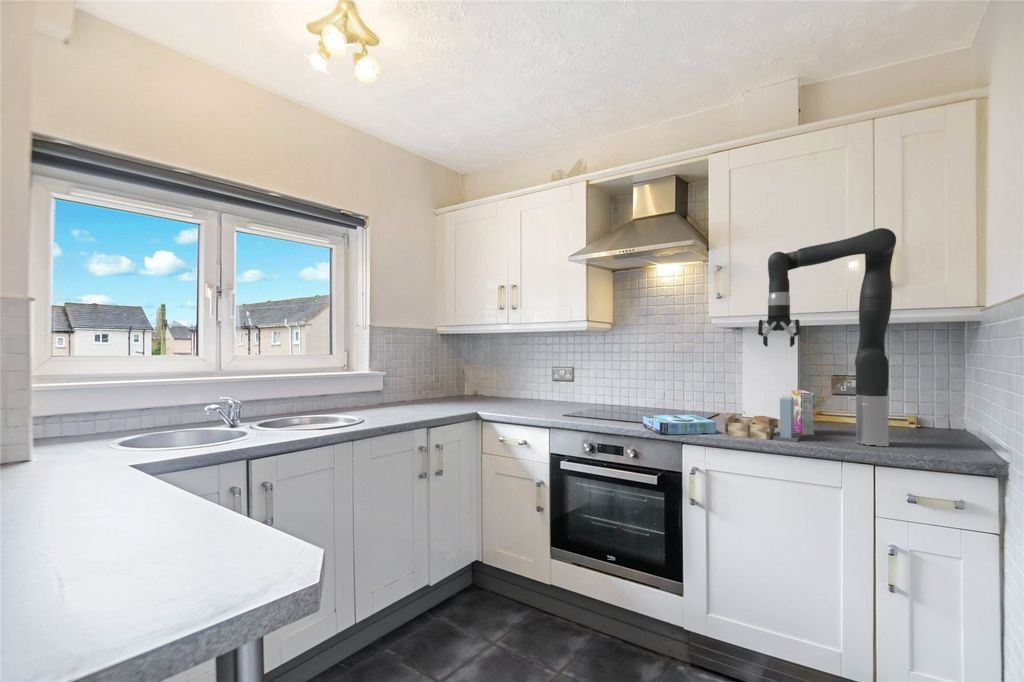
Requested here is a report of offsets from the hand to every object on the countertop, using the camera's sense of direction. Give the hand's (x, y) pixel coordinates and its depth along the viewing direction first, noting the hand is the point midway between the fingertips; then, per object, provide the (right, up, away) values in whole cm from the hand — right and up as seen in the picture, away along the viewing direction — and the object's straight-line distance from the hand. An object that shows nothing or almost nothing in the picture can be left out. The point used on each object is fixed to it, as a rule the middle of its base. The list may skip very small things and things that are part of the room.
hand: (778, 346), depth 194 cm
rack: (-10, -34, +2) cm, 36 cm away
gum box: (-23, -32, +14) cm, 42 cm away
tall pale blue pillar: (+1, -33, -5) cm, 34 cm away
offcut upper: (-6, -31, -2) cm, 31 cm away
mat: (+1, -34, -5) cm, 35 cm away
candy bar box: (+12, -35, +5) cm, 37 cm away
